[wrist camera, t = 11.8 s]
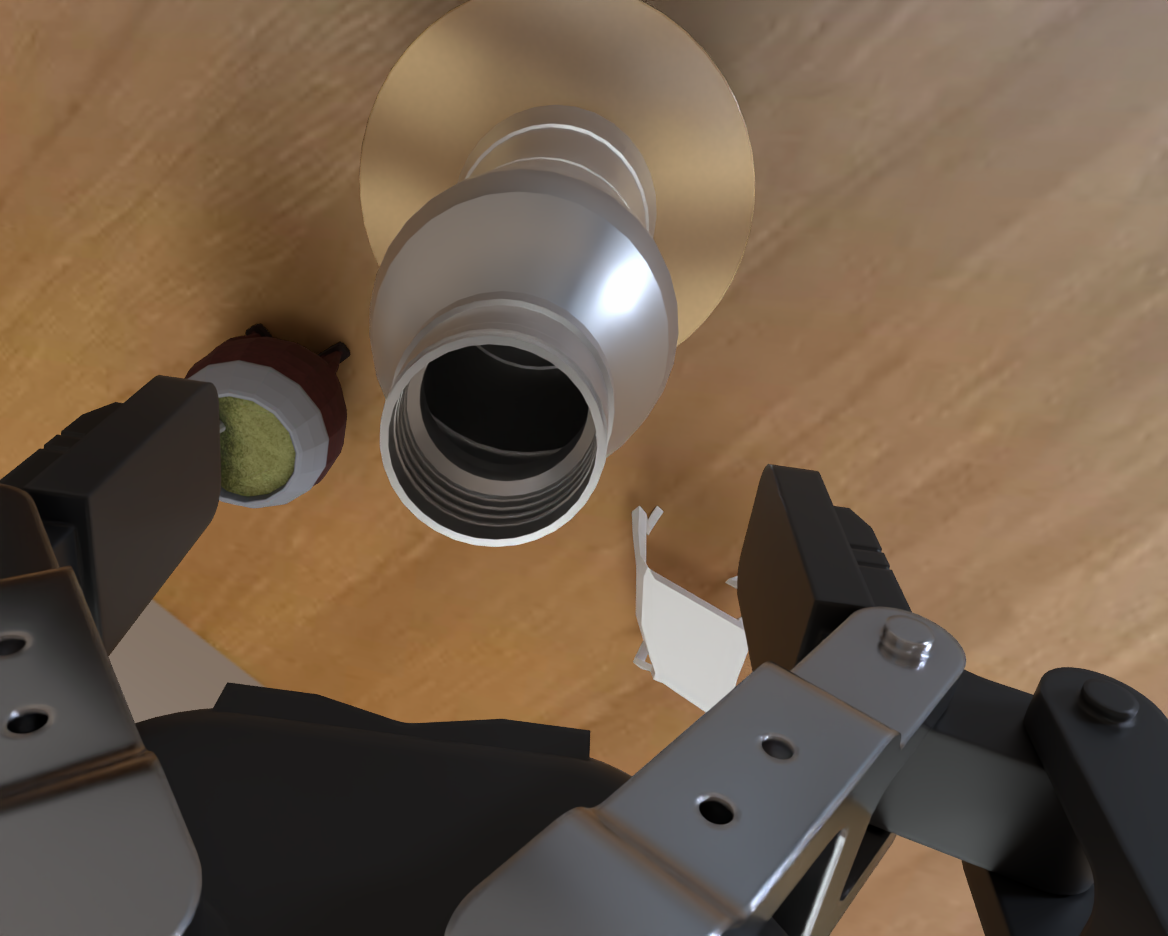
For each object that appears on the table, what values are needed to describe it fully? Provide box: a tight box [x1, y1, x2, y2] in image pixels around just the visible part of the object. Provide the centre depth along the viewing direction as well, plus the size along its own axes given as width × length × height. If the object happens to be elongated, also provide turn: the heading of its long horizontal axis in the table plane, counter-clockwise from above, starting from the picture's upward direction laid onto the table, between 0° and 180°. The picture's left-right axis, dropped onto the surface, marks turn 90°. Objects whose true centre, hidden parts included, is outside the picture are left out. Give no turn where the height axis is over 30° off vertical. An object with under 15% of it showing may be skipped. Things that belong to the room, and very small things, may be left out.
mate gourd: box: [185, 324, 350, 508], centre depth 39 cm, size 8×8×15 cm
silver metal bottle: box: [369, 105, 678, 547], centre depth 24 cm, size 6×7×20 cm
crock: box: [359, 0, 755, 347], centre depth 37 cm, size 14×14×9 cm
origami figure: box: [632, 506, 748, 712], centre depth 48 cm, size 12×8×5 cm
